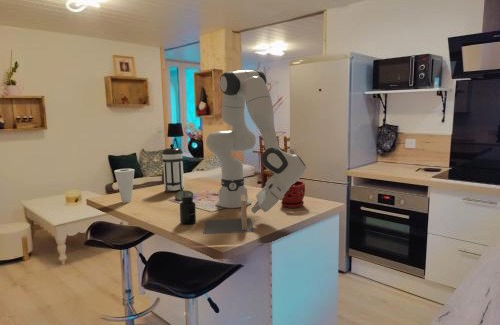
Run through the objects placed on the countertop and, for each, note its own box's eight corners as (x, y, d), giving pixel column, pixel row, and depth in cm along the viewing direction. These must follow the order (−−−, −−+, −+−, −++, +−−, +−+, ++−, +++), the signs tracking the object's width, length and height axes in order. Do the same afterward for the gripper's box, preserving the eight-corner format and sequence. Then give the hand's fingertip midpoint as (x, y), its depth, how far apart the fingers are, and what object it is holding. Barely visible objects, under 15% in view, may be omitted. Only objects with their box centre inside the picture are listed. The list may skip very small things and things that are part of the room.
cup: (113, 204, 187) (110, 171, 184) (122, 199, 197) (120, 168, 195) (131, 204, 186) (129, 171, 183) (139, 199, 196) (137, 168, 194)
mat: (206, 221, 152) (206, 220, 152) (251, 219, 153) (251, 218, 153) (203, 235, 134) (203, 233, 134) (253, 233, 135) (253, 231, 135)
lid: (194, 196, 200) (194, 188, 199) (192, 200, 190) (192, 192, 190) (176, 197, 200) (175, 189, 199) (173, 201, 190) (173, 192, 189)
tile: (241, 220, 150) (240, 194, 148) (245, 220, 150) (245, 193, 148) (242, 229, 138) (241, 200, 136) (247, 229, 138) (246, 200, 136)
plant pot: (281, 202, 183) (281, 180, 181) (306, 203, 179) (306, 180, 178) (276, 208, 170) (276, 185, 169) (303, 209, 167) (303, 185, 165)
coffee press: (156, 192, 215) (153, 144, 211) (176, 187, 227) (174, 142, 223) (173, 195, 204) (170, 145, 200) (193, 190, 216) (191, 143, 212)
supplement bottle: (193, 225, 147) (191, 198, 145) (178, 224, 148) (176, 198, 146) (198, 220, 154) (197, 194, 152) (183, 220, 155) (182, 194, 153)
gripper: (267, 178, 152) (246, 200, 153) (272, 188, 132) (248, 213, 133) (277, 187, 153) (256, 209, 154) (284, 198, 133) (259, 223, 134)
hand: (252, 211), depth 143 cm, fingers closed
